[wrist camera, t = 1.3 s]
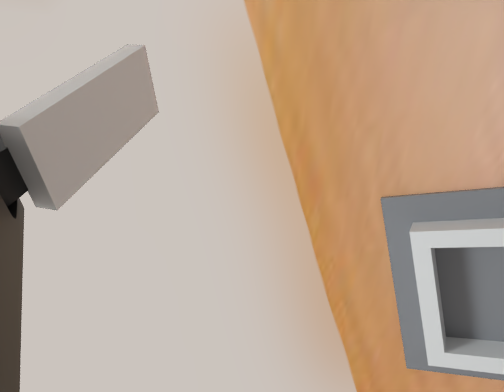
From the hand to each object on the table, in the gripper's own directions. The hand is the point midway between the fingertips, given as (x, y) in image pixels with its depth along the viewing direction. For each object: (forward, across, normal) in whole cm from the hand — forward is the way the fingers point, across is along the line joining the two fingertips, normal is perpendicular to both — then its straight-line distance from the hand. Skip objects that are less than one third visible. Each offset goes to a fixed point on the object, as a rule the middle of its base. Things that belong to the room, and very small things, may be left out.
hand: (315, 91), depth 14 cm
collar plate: (+14, +15, -23) cm, 31 cm away
